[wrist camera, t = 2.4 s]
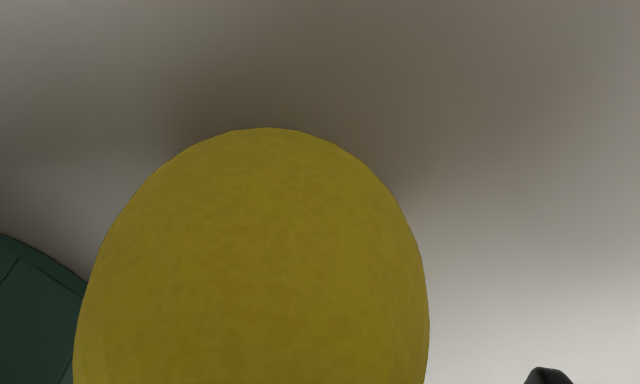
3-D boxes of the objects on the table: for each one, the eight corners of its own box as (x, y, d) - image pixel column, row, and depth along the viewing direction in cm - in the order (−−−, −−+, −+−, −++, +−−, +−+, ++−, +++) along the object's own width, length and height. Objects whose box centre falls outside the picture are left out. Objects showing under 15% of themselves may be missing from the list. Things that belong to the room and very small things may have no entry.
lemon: (397, 267, 14) (438, 665, 8) (179, 262, 15) (45, 645, 8) (418, 59, 11) (515, 438, 5) (139, 56, 11) (-137, 416, 5)
